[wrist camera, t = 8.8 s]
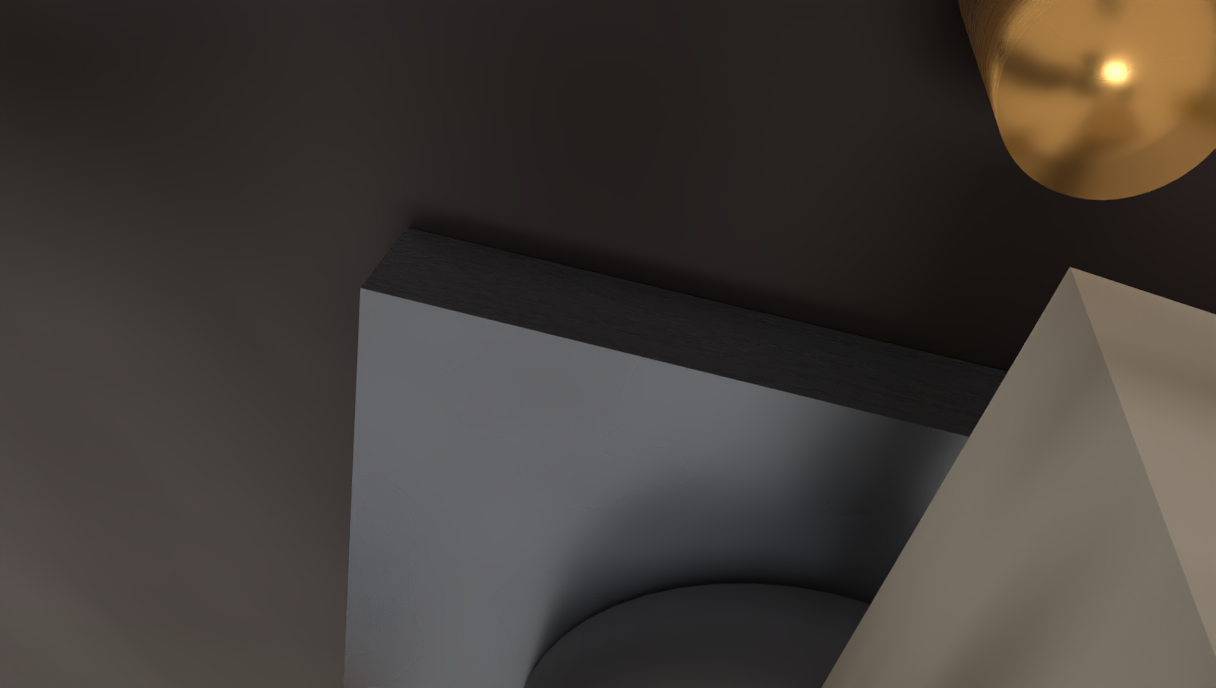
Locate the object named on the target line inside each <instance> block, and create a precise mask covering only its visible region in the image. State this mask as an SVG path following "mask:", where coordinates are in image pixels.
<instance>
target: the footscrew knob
mask: <svg viewBox="0 0 1216 688" xmlns="http://www.w3.org/2000/svg"><path fill="white" fill-rule="evenodd" d="M524 688H1216V315H1215V314H1212V313H1209V312H1206V311H1203V310H1200V309H1197V308H1194V307H1191V306H1188V305H1185V304H1182V303H1179V302H1176V301H1173V300H1170V299H1167V298H1164V297H1160V296H1157V295H1154V294H1151V293H1148V292H1145V291H1142V290H1139V289H1136V288H1133V287H1130V286H1127V285H1124V284H1121V283H1118V282H1115V281H1112V280H1108V279H1105V278H1102V277H1099V276H1096V275H1093V274H1090V273H1087V272H1084V271H1081V270H1078V269H1075V268H1072V267H1070V268H1069V269H1068V271H1067V273H1066V274H1065V276H1064V278H1063V280H1062V281H1061V283H1060V285H1059V286H1058V288H1057V290H1056V291H1055V293H1054V295H1053V296H1052V298H1051V300H1050V302H1049V303H1048V305H1047V307H1046V308H1045V310H1044V312H1043V313H1042V315H1041V317H1040V318H1039V320H1038V322H1037V324H1036V325H1035V327H1034V329H1033V330H1032V332H1031V334H1030V335H1029V337H1028V339H1027V340H1026V342H1025V344H1024V346H1023V347H1022V349H1021V351H1020V352H1019V354H1018V356H1017V357H1016V359H1015V361H1014V363H1013V364H1012V366H1011V368H1010V369H1009V371H1008V373H1007V374H1006V376H1005V378H1004V379H1003V381H1002V383H1001V385H1000V386H999V388H998V390H997V391H996V393H995V395H994V396H993V398H992V400H991V401H990V403H989V405H988V407H987V408H986V410H985V412H984V413H983V415H982V417H981V418H980V420H979V422H978V423H977V425H976V427H975V429H974V430H973V432H972V434H971V435H970V437H969V439H968V440H967V442H966V444H965V445H964V447H963V449H962V451H961V452H960V454H959V456H958V457H957V459H956V461H955V462H954V464H953V466H952V467H951V469H950V471H949V473H948V474H947V476H946V478H945V479H944V481H943V483H942V484H941V486H940V488H939V490H938V491H937V493H936V495H935V496H934V498H933V500H932V501H931V503H930V505H929V506H928V508H927V510H926V512H925V513H924V515H923V517H922V518H921V520H920V522H919V523H918V525H917V527H916V528H915V530H914V532H913V534H912V535H911V537H910V539H909V540H908V542H907V544H906V545H905V547H904V549H903V550H902V552H901V554H900V556H899V557H898V559H897V561H896V562H895V564H894V566H893V567H892V569H891V571H890V572H889V574H888V576H887V578H886V579H885V581H884V583H883V584H882V586H881V588H880V589H879V591H878V593H877V594H876V596H875V598H874V600H873V601H872V603H871V604H868V603H865V602H861V601H858V600H854V599H850V598H847V597H843V596H840V595H836V594H832V593H827V592H821V591H815V590H810V589H804V588H799V587H792V586H780V585H768V584H756V583H740V584H710V585H701V586H692V587H683V588H676V589H672V590H667V591H663V592H658V593H654V594H649V595H645V596H642V597H639V598H636V599H633V600H631V601H628V602H625V603H622V604H619V605H616V606H613V607H611V608H609V609H607V610H605V611H603V612H601V613H599V614H597V615H595V616H593V617H591V618H589V619H587V620H586V621H584V622H583V623H581V624H580V625H579V626H577V627H576V628H574V629H573V630H571V631H570V632H568V633H567V634H566V635H564V636H563V637H562V638H561V639H560V640H559V641H558V642H557V643H556V644H555V645H554V646H553V647H552V648H551V649H549V650H548V651H547V652H546V653H545V655H544V656H543V657H542V659H541V660H540V661H539V663H538V664H537V666H536V667H535V668H534V670H533V671H532V673H531V674H530V677H529V679H528V681H527V683H526V685H525V687H524Z"/></svg>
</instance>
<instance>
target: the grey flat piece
mask: <svg viewBox="0 0 1216 688" xmlns="http://www.w3.org/2000/svg"><path fill="white" fill-rule="evenodd" d="M958 2H959V8H960V12H961V15H962V19H963V22H964V25H965V28H966V31H967V34H968V37H969V40H970V43H971V46H972V49H973V52H974V55H975V58H976V61H977V64H978V67H979V70H980V73H981V76H982V79H983V82H984V85H985V88H986V91H987V94H988V97H989V100H990V103H991V106H992V110H993V113H994V116H995V119H996V122H997V125H998V128H999V131H1000V134H1001V137H1002V139H1003V141H1004V144H1005V146H1006V148H1007V150H1008V152H1009V153H1010V155H1011V156H1012V158H1013V159H1014V161H1015V162H1016V163H1017V164H1018V166H1019V167H1020V168H1021V169H1022V170H1023V171H1024V172H1025V173H1026V174H1028V175H1029V176H1030V177H1031V178H1032V179H1034V180H1035V181H1037V182H1038V183H1040V184H1041V185H1043V186H1045V187H1047V188H1049V189H1051V190H1053V191H1056V192H1058V193H1061V194H1064V195H1068V196H1071V197H1076V198H1082V199H1090V200H1111V199H1121V198H1127V197H1132V196H1136V195H1140V194H1143V193H1147V192H1150V191H1152V190H1155V189H1157V188H1160V187H1162V186H1165V185H1167V184H1169V183H1170V182H1172V181H1174V180H1176V179H1178V178H1180V177H1181V176H1183V175H1184V174H1186V173H1187V172H1189V171H1190V170H1192V169H1193V168H1194V167H1196V166H1197V165H1198V164H1199V163H1200V162H1202V161H1203V160H1204V159H1205V158H1206V157H1207V156H1208V155H1209V154H1210V153H1211V152H1212V151H1213V150H1214V149H1215V148H1216V0H958ZM1007 373H1008V371H1004V370H999V369H995V368H991V367H987V366H983V365H979V364H974V363H970V362H966V361H962V360H958V359H954V358H949V357H945V356H941V355H937V354H933V353H929V352H924V351H920V350H916V349H912V348H908V347H904V346H899V345H895V344H891V343H887V342H883V341H879V340H874V339H870V338H866V337H862V336H858V335H854V334H849V333H845V332H841V331H837V330H833V329H829V328H824V327H820V326H816V325H812V324H808V323H804V322H799V321H795V320H791V319H787V318H783V317H779V316H774V315H770V314H766V313H762V312H758V311H754V310H749V309H745V308H741V307H737V306H733V305H729V304H724V303H720V302H716V301H712V300H708V299H704V298H699V297H695V296H691V295H687V294H683V293H679V292H674V291H670V290H666V289H662V288H658V287H654V286H649V285H645V284H641V283H637V282H633V281H629V280H624V279H620V278H616V277H612V276H608V275H604V274H599V273H595V272H591V271H587V270H583V269H579V268H574V267H570V266H566V265H562V264H558V263H554V262H549V261H545V260H541V259H537V258H533V257H529V256H524V255H520V254H516V253H512V252H508V251H504V250H499V249H495V248H491V247H487V246H483V245H479V244H474V243H470V242H466V241H462V240H458V239H454V238H449V237H445V236H441V235H437V234H433V233H428V232H424V231H420V230H416V229H412V228H407V229H406V230H405V232H404V233H403V234H402V236H401V237H400V238H399V239H398V241H397V242H396V243H395V245H394V246H393V247H392V248H391V250H390V251H389V252H388V253H387V255H386V256H385V257H384V259H383V260H382V261H381V262H380V264H379V265H378V266H377V267H376V269H375V270H374V271H373V273H372V274H371V275H370V276H369V278H368V279H367V280H366V282H365V283H364V284H363V285H362V287H361V288H360V309H359V333H358V357H357V380H356V404H355V427H354V451H353V475H352V498H351V522H350V545H349V569H348V593H347V616H346V640H345V663H344V687H343V688H524V687H525V685H526V683H527V681H528V679H529V677H530V674H531V673H532V671H533V670H534V668H535V667H536V666H537V664H538V663H539V661H540V660H541V659H542V657H543V656H544V655H545V653H546V652H547V651H548V650H549V649H551V648H552V647H553V646H554V645H555V644H556V643H557V642H558V641H559V640H560V639H561V638H562V637H563V636H564V635H566V634H567V633H568V632H570V631H571V630H573V629H574V628H576V627H577V626H579V625H580V624H581V623H583V622H584V621H586V620H587V619H589V618H591V617H593V616H595V615H597V614H599V613H601V612H603V611H605V610H607V609H609V608H611V607H613V606H616V605H619V604H622V603H625V602H628V601H631V600H633V599H636V598H639V597H642V596H645V595H649V594H654V593H658V592H663V591H667V590H672V589H676V588H683V587H692V586H701V585H710V584H740V583H756V584H768V585H780V586H792V587H799V588H804V589H810V590H815V591H821V592H827V593H832V594H836V595H840V596H843V597H847V598H850V599H854V600H858V601H861V602H865V603H868V604H871V603H872V601H873V600H874V598H875V596H876V594H877V593H878V591H879V589H880V588H881V586H882V584H883V583H884V581H885V579H886V578H887V576H888V574H889V572H890V571H891V569H892V567H893V566H894V564H895V562H896V561H897V559H898V557H899V556H900V554H901V552H902V550H903V549H904V547H905V545H906V544H907V542H908V540H909V539H910V537H911V535H912V534H913V532H914V530H915V528H916V527H917V525H918V523H919V522H920V520H921V518H922V517H923V515H924V513H925V512H926V510H927V508H928V506H929V505H930V503H931V501H932V500H933V498H934V496H935V495H936V493H937V491H938V490H939V488H940V486H941V484H942V483H943V481H944V479H945V478H946V476H947V474H948V473H949V471H950V469H951V467H952V466H953V464H954V462H955V461H956V459H957V457H958V456H959V454H960V452H961V451H962V449H963V447H964V445H965V444H966V442H967V440H968V439H969V437H970V435H971V434H972V432H973V430H974V429H975V427H976V425H977V423H978V422H979V420H980V418H981V417H982V415H983V413H984V412H985V410H986V408H987V407H988V405H989V403H990V401H991V400H992V398H993V396H994V395H995V393H996V391H997V390H998V388H999V386H1000V385H1001V383H1002V381H1003V379H1004V378H1005V376H1006V374H1007Z"/></svg>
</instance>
